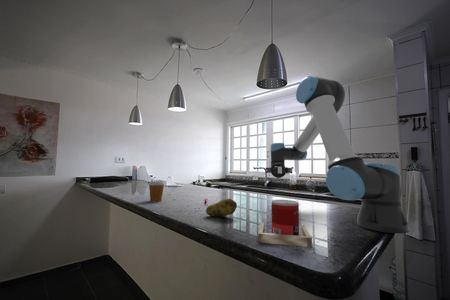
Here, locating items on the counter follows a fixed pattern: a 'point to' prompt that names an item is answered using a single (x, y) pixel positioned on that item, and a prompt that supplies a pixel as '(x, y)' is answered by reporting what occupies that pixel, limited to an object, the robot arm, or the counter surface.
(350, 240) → the counter surface
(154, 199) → the disposable coffee cup
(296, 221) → the canned food
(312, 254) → the counter surface
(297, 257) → the counter surface
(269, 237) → the shallow beige tray
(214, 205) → the potato
